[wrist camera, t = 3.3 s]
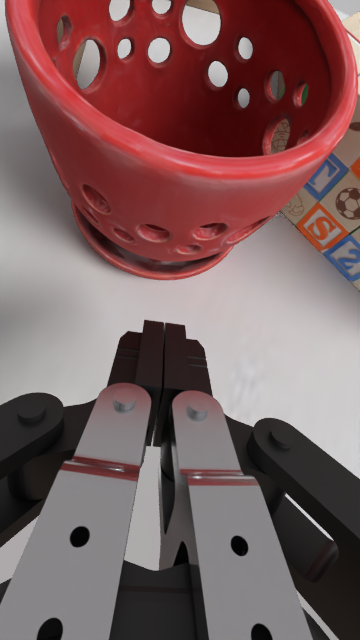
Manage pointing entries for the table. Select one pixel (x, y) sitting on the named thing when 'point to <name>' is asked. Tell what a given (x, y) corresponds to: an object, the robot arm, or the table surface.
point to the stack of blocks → (332, 187)
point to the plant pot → (182, 121)
